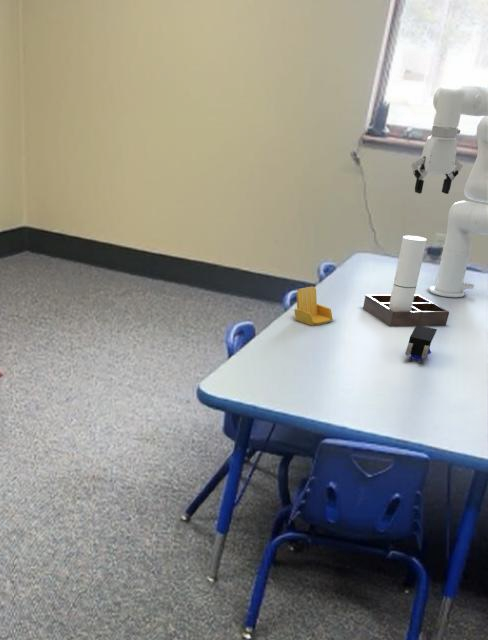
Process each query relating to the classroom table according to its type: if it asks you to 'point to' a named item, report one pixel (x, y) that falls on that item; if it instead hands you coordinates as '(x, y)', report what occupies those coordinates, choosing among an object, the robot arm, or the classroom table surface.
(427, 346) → the figurine character
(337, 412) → the classroom table surface
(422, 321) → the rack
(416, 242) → the cylindrical container
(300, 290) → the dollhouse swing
